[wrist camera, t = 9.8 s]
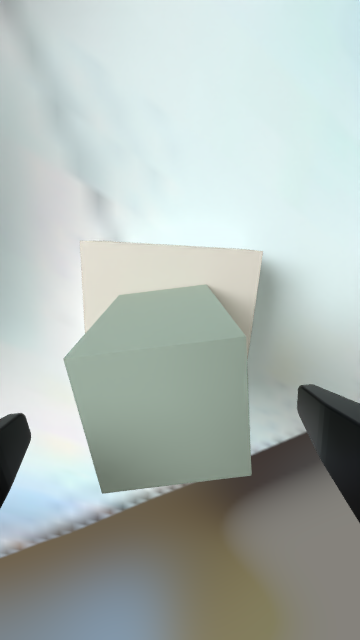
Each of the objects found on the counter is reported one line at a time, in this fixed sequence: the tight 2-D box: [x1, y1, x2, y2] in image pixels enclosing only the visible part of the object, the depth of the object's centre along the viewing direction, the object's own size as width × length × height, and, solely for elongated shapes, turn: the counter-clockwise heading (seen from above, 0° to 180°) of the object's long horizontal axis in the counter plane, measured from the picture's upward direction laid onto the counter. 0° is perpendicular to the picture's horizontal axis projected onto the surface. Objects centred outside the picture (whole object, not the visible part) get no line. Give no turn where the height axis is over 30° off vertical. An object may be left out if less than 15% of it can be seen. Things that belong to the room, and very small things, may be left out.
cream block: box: [80, 241, 263, 358], centre depth 18 cm, size 10×10×5 cm
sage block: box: [64, 284, 251, 494], centre depth 12 cm, size 5×5×8 cm
